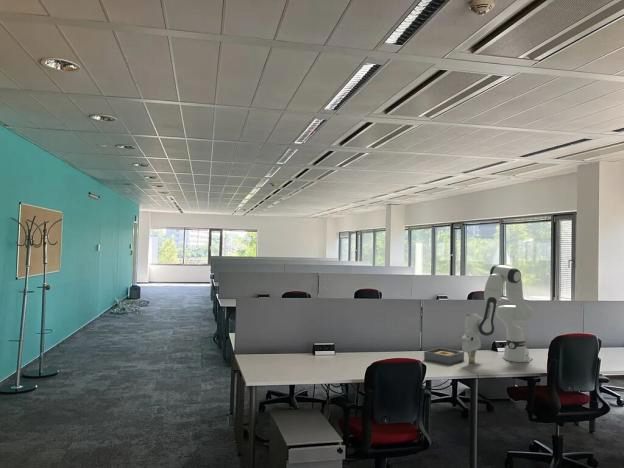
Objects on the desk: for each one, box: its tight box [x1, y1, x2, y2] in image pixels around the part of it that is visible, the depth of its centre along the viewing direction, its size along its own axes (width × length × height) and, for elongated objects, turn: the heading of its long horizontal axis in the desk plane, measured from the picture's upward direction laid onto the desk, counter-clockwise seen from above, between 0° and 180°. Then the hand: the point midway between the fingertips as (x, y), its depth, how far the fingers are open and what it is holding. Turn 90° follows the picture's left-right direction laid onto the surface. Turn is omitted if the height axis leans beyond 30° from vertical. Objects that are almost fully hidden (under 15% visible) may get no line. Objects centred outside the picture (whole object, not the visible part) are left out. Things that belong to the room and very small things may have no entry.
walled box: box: [423, 347, 465, 366], centre depth 330 cm, size 20×20×6 cm
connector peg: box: [468, 350, 476, 364], centre depth 323 cm, size 4×4×9 cm
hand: (471, 356), depth 323 cm, fingers closed on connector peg, 4 cm apart
